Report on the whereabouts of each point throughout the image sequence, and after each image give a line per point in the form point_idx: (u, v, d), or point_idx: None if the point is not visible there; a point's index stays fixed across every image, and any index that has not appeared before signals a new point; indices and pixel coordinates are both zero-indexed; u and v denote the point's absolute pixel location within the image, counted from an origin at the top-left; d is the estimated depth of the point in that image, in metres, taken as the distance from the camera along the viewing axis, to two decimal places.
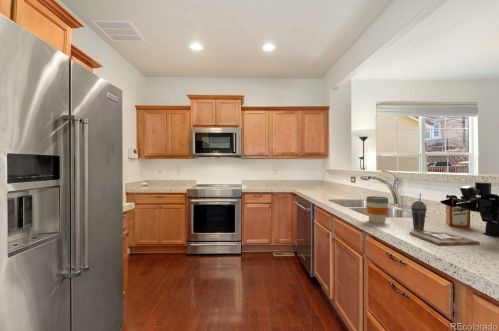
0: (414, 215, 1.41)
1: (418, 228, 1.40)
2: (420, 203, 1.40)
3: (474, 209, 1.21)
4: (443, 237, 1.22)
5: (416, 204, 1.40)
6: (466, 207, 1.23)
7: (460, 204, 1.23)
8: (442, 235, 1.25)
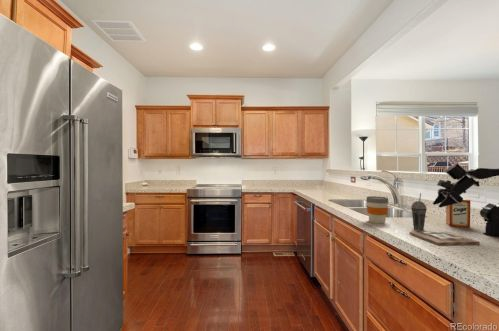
0: (414, 215, 1.41)
1: (418, 228, 1.40)
2: (420, 203, 1.40)
3: (455, 202, 1.30)
4: (443, 237, 1.22)
5: (416, 204, 1.40)
6: (448, 203, 1.32)
7: (441, 204, 1.34)
8: (442, 235, 1.25)
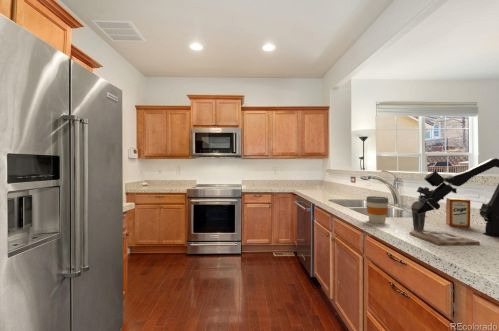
0: (414, 215, 1.41)
1: (418, 228, 1.40)
2: (420, 203, 1.40)
3: (432, 208, 1.34)
4: (443, 237, 1.22)
5: (416, 204, 1.40)
6: (426, 210, 1.36)
7: (419, 211, 1.38)
8: (442, 235, 1.25)
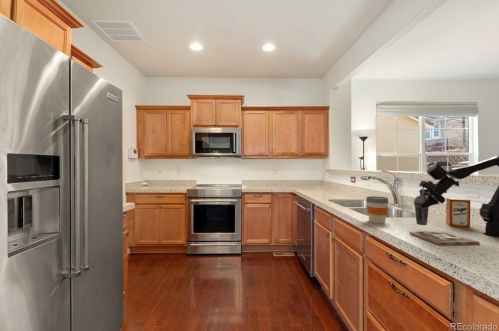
0: (417, 210, 1.37)
1: (422, 223, 1.36)
2: (424, 197, 1.36)
3: (437, 202, 1.31)
4: (443, 237, 1.22)
5: (420, 198, 1.36)
6: (430, 204, 1.33)
7: (424, 205, 1.34)
8: (442, 235, 1.25)
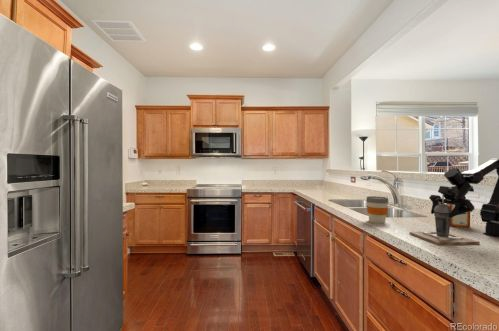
0: (441, 221, 1.22)
1: (445, 235, 1.21)
2: (447, 206, 1.22)
3: (466, 210, 1.17)
4: (443, 237, 1.22)
5: (444, 208, 1.21)
6: (458, 213, 1.18)
7: (452, 214, 1.19)
8: None
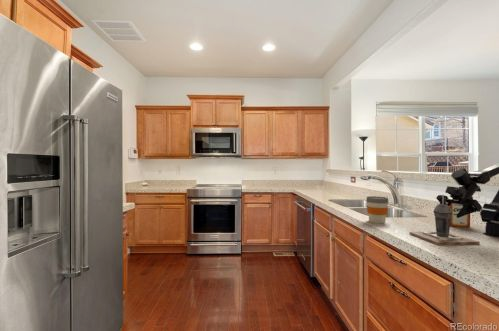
0: (441, 221, 1.22)
1: (445, 235, 1.21)
2: (447, 206, 1.22)
3: (474, 211, 1.18)
4: (443, 237, 1.22)
5: (444, 208, 1.21)
6: (466, 213, 1.19)
7: (460, 214, 1.19)
8: None
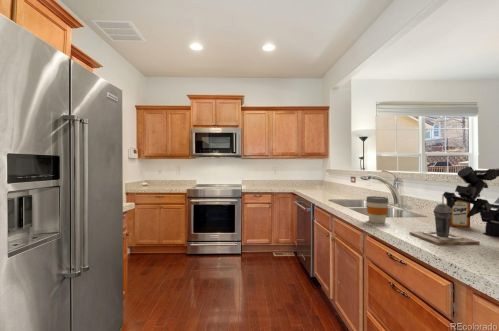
0: (441, 221, 1.22)
1: (445, 235, 1.21)
2: (447, 206, 1.22)
3: (483, 210, 1.20)
4: (443, 237, 1.22)
5: (444, 208, 1.21)
6: (475, 212, 1.21)
7: (470, 214, 1.21)
8: None
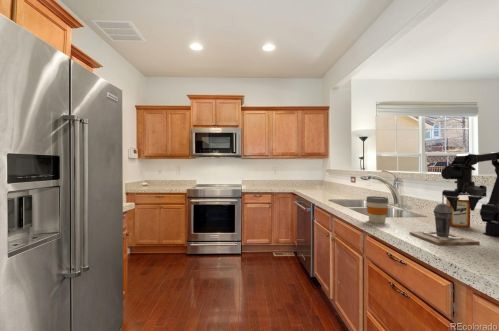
0: (441, 221, 1.22)
1: (445, 235, 1.21)
2: (447, 206, 1.22)
3: None
4: (443, 237, 1.22)
5: (444, 208, 1.21)
6: None
7: None
8: None
